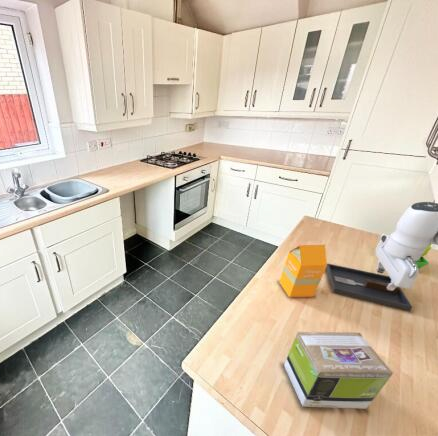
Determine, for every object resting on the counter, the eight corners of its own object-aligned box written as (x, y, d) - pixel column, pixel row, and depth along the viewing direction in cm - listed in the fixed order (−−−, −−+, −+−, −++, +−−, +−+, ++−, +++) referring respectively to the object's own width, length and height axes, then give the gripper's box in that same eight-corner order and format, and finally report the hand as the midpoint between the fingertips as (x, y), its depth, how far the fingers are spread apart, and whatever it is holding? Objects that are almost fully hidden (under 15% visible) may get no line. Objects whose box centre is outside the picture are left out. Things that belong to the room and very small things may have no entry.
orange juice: (313, 296, 87) (333, 251, 77) (289, 297, 87) (305, 252, 77) (301, 281, 94) (318, 238, 84) (278, 281, 94) (292, 238, 84)
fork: (393, 290, 88) (397, 284, 87) (396, 295, 86) (400, 289, 85) (333, 276, 95) (336, 271, 93) (335, 281, 93) (337, 275, 91)
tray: (391, 281, 93) (393, 277, 92) (409, 311, 81) (412, 307, 80) (325, 267, 101) (326, 263, 100) (333, 292, 88) (334, 288, 87)
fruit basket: (384, 253, 108) (397, 232, 102) (409, 257, 105) (423, 235, 100) (399, 270, 98) (413, 247, 93) (427, 274, 96) (443, 251, 90)
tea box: (338, 366, 65) (361, 331, 58) (366, 410, 56) (397, 374, 49) (282, 365, 66) (297, 329, 59) (301, 408, 57) (321, 372, 50)
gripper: (433, 270, 70) (408, 303, 77) (402, 235, 87) (384, 265, 93) (405, 264, 73) (383, 297, 79) (380, 231, 89) (364, 261, 96)
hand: (383, 279), depth 87 cm, fingers open, 8 cm apart
